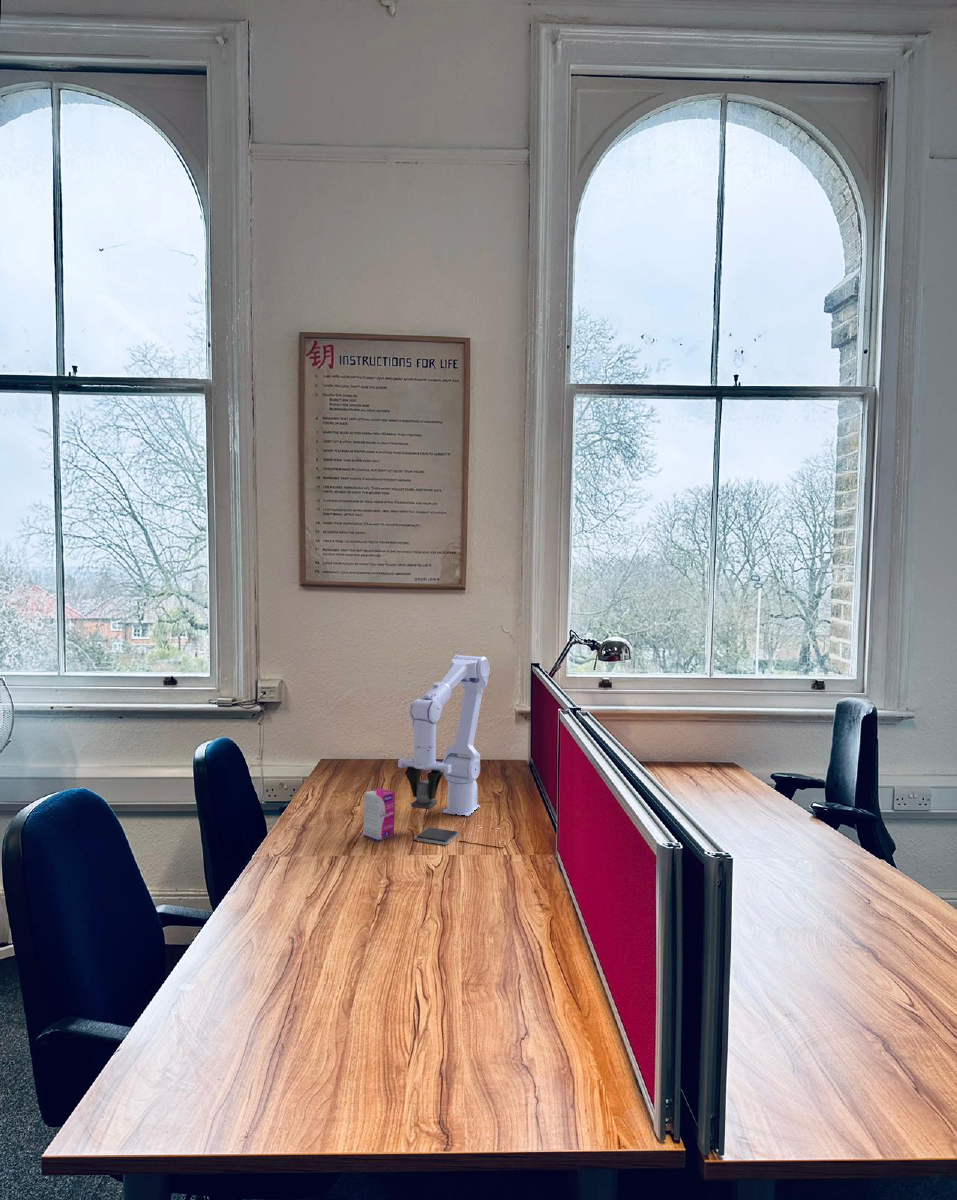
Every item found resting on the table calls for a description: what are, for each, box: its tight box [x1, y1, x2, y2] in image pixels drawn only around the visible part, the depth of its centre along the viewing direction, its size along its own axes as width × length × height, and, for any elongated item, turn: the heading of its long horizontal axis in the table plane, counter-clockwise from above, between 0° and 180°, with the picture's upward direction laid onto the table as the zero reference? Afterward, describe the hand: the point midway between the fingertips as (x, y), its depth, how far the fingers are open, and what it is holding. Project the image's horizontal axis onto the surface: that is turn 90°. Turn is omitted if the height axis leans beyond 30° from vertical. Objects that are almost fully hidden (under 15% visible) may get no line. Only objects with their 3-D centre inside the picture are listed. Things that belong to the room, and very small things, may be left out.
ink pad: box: [413, 826, 460, 846], centre depth 191 cm, size 8×9×1 cm
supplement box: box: [362, 787, 396, 842], centre depth 191 cm, size 6×6×12 cm
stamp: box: [410, 780, 438, 810], centre depth 195 cm, size 5×5×6 cm
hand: (424, 797), depth 195 cm, fingers closed on stamp, 4 cm apart
